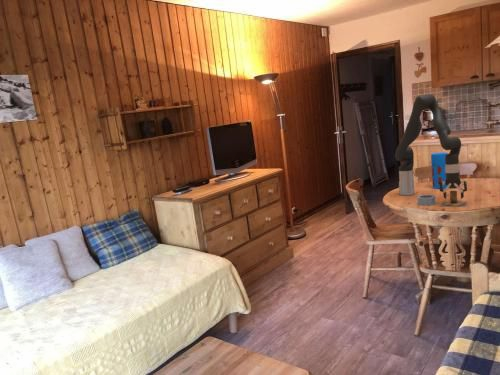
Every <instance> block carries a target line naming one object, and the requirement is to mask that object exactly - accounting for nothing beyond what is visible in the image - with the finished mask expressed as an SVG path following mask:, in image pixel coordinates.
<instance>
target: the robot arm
mask: <svg viewBox="0 0 500 375" xmlns="http://www.w3.org/2000/svg"><path fill="white" fill-rule="evenodd" d="M411 110H412V111H411V114H410V116H409V119H408V122H407V124H406V127H405V129H404V132H403V135H402V138H401V140H400V142H399V144H398V145H397V148H396V150H395V153H394V156H395V160H396V161H397V162H403V163H402V164H401V165H400V166H399V167H398V176H399V178H398V179H399V181H398V188H399V190H398V191H399V196H413V195H415V181H414V178H415V177H414V167H415V166H414V165H415V164H414V162H415V161H414V160H415V158H414V156H415V155H414V154H415V153H414V150H413V148H412V147H411V146H410V145H411V144H412V143H414V142H415V140H417V139H418V137H419V136H420V133H421V131H422V129H423V124H422V121H421V120H422V119H421V115H422V113H423V111H426V110H429V111H430V112H431V113H432V118H433V119H432V126H433V129H434V131H435V132H436V134H437V135H438V138H439V143H440V146H441V148H442V149H443V150H445V151H449V153H448V154H447V155H446V156H445V175H446V181H445V182H443V181H441V182H440V189H439V192H441V193H443V198H444V199H447V198H448V197H447V191H448V189H451V190H452V189H458V190H459V191H460V199H464V197H465V193H464V192H467V191H468V184H467V183H468V182H467V180H463V181H462V180H461V172H460V171H461V168H460V159H459V156H460V151H461V147H462V141H461V139H460V137H458V136H451V137H449V136H450V134H451V133H452V130H451V128H450V127H449V125H448V123H447V121H446V119H445V118H444V116H443V113H442V110H441V108H440V106H439V102H438V101H437V98H436V97H435V95H434V94H432V93H426V94H421V95H418V96H416V98H415V99H414V102H413V107H412V109H411ZM444 183H445V184H446V185H447V187H446V188H445V189H443V185H444ZM461 185H463V187H462V186H461Z"/></svg>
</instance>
